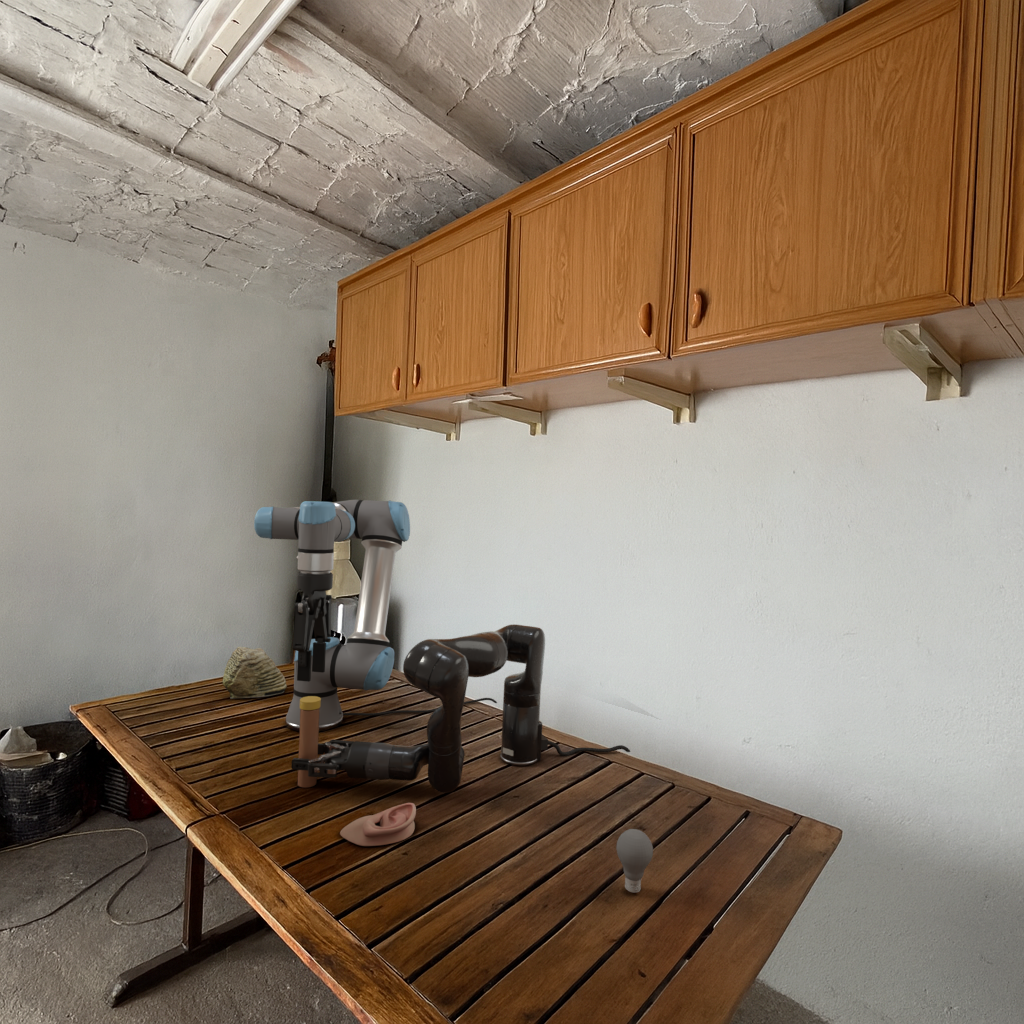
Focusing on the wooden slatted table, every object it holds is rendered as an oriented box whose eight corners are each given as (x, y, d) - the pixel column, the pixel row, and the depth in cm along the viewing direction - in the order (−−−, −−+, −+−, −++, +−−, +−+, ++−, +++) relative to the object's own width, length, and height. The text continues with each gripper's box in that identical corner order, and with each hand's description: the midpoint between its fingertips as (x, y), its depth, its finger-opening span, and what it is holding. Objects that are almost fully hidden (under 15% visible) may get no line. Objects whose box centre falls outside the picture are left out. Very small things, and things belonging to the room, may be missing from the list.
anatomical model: (332, 820, 116) (360, 792, 128) (332, 841, 116) (359, 811, 128) (400, 830, 114) (422, 801, 125) (400, 852, 114) (421, 821, 125)
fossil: (218, 695, 195) (220, 647, 195) (278, 685, 208) (279, 640, 207) (228, 703, 189) (230, 653, 188) (289, 692, 201) (290, 645, 201)
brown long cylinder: (306, 789, 137) (309, 705, 137) (293, 784, 139) (296, 701, 139) (320, 782, 140) (323, 700, 140) (308, 777, 142) (311, 697, 142)
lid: (309, 711, 136) (309, 703, 136) (295, 707, 139) (295, 699, 139) (324, 706, 140) (325, 698, 140) (311, 702, 142) (311, 694, 142)
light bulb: (610, 879, 108) (613, 822, 108) (644, 879, 109) (647, 822, 109) (619, 902, 102) (622, 840, 102) (655, 901, 103) (658, 840, 103)
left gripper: (318, 566, 149) (314, 663, 149) (277, 575, 130) (272, 687, 130) (348, 568, 148) (344, 666, 148) (311, 577, 129) (307, 690, 129)
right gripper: (381, 731, 146) (312, 727, 147) (363, 756, 131) (287, 751, 132) (380, 764, 146) (311, 759, 147) (362, 792, 132) (285, 787, 133)
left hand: (311, 675), depth 139 cm, fingers open, 7 cm apart
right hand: (300, 755), depth 140 cm, fingers open, 8 cm apart
